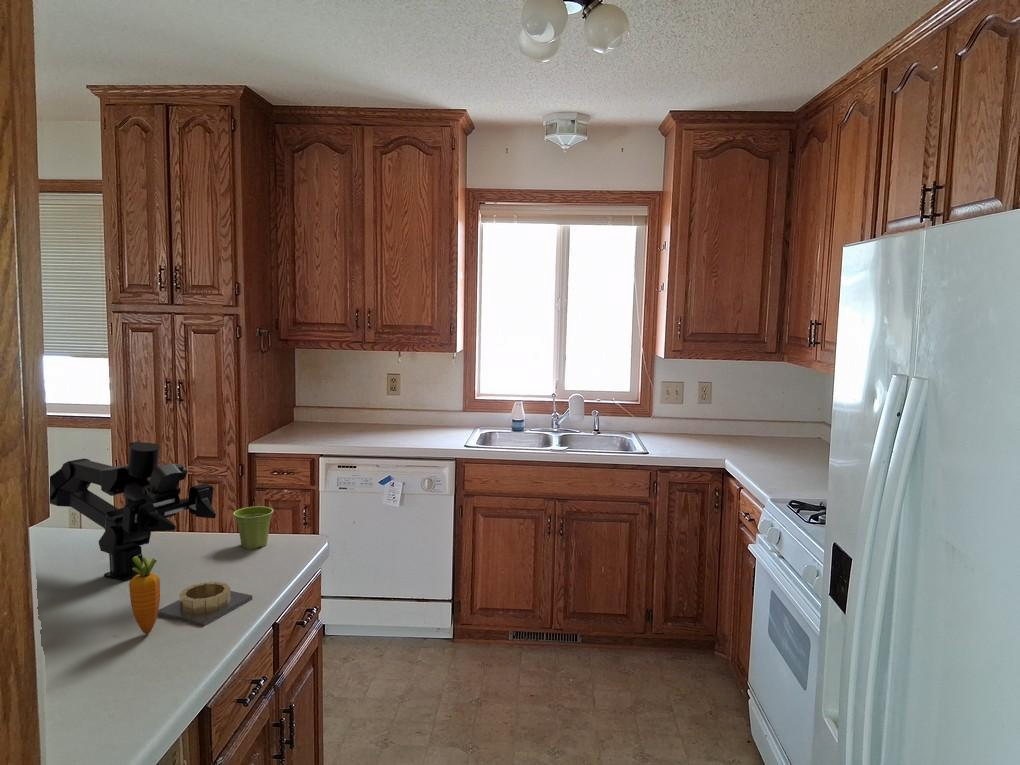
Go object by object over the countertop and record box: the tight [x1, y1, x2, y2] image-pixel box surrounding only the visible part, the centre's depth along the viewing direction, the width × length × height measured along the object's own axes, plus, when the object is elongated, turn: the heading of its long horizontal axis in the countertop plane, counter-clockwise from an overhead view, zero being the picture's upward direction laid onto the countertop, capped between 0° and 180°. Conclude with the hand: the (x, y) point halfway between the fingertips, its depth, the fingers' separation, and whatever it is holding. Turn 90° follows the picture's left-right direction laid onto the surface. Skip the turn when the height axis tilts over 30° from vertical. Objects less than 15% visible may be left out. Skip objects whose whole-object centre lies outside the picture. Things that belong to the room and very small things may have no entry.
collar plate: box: [157, 581, 253, 627], centre depth 139 cm, size 12×13×3 cm
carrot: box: [128, 556, 161, 636], centre depth 127 cm, size 5×5×15 cm
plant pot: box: [233, 506, 274, 549], centre depth 174 cm, size 9×9×9 cm
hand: (195, 521), depth 141 cm, fingers open, 9 cm apart
